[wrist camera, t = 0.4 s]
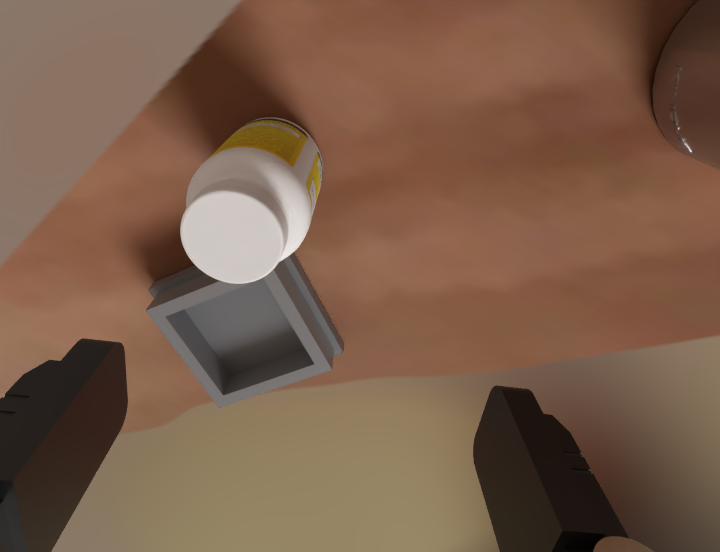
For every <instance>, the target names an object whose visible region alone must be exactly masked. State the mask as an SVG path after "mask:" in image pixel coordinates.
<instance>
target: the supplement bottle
mask: <svg viewBox="0 0 720 552" xmlns="http://www.w3.org/2000/svg"><path fill="white" fill-rule="evenodd" d="M322 177H323V163H322V158H321V154H320V151H319V149H318V147H317V145H316V143H315V142H314V140H313V139H312V138H311V136H310V135H309V134H308V133H307V132H306V131H305V130H304V129H302V128H301V127H300V126H298V125H296V124H295V123H293V122H290V121H288V120H285V119H281V118H275V117H266V118H259V119H256V120H253V121H251V122H249V123H247V124H245V125H243V126H242V127H241V128H239V129H238V130H237V131H236V132H235V133H234V134H233V135H232V136H230V137H229V138H228V139H227V140H226V141H225V142H224V143H223V144H222V145H221V146H220V147H219V148H218V149H217V150H216V151H215V152H214V153H213V154H212V155H211V156H210V157H209V158H208V159H207V160H206V161H205V162H204V163H203V164H202V165H201V166H200V167H199V168H198V170H197V171H196V172H195V174H194V176H193V177H192V179H191V182H190V184H189V187H188V191H187V197H186V210H185V212H184V214H183V217H182V220H181V225H180V236H181V241H182V244H183V247H184V249H185V251H186V253H187V255H188V257H189V258H190V260H191V261H192V262H193V263H194V264H195V265H196V266H197V267H198V268H199V269H200V270H201V271H203V272H204V273H205V274H207V275H209V276H211V277H213V278H215V279H217V280H220V281H223V282H227V283H234V284H243V283H249V282H253V281H256V280H259V279H261V278H263V277H265V276H266V275H267V274H269V273H270V272H271V271H272V270H273V269H274V268H275V267H276V266H277V264H278V262H280V261H282V260H283V259H285V258H287V257H288V256H289V255H291V254H292V253H293V252H294V251H295V250H296V249H297V248H298V247H299V246H300V244H301V243H302V241H303V239H304V238H305V236H306V233H307V231H308V229H309V226H310V222H311V218H312V215H313V211H314V208H315V204H316V200H317V197H318V193H319V190H320V186H321V183H322Z"/></svg>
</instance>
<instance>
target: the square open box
mask: <svg viewBox="0 0 720 552" xmlns="http://www.w3.org/2000/svg"><path fill="white" fill-rule="evenodd" d="M148 290H149V291H150V293H151V294H152V296H153V297H154V298H155V299H154V300H153V301H152V303H151V304H150V305H149V307H148V308H147V309H146V312H147V313H148V315H149V316H150V317H151V319H152V320H153V321H154V322H155V324H156V325H157V326H158V328H159V329H160V330H161V332H162V333H163V334H164V336H165V337H166V338H167V340H168V341H169V342H170V344H171V345H172V346H173V348H174V349H175V350H176V352H177V353H178V354H179V356H180V357H181V358H182V360H183V361H184V362H185V364H186V365H187V366H188V368H189V369H190V370H191V372H192V373H193V374H194V375H195V377H196V378H197V379H198V381H199V382H200V383H201V385H202V386H203V387H204V389H205V390H206V391H207V393H208V394H209V395H210V397H211V398H212V399H213V401H214V402H215V403H216V405H217V406H218V407H219V408H221V407H223V406H226V405H229V404H232V403H235V402H238V401H241V400H244V399H247V398H250V397H253V396H256V395H259V394H262V393H265V392H268V391H271V390H274V389H277V388H280V387H283V386H286V385H289V384H292V383H294V382H297V381H300V380H303V379H306V378H309V377H312V376H315V375H318V374H321V373H324V372H327V371H330V370H332V366H333V357H334V356H336V355H339V354H342V353H343V351H344V343H343V341H342V339H341V337H340V336H339V334H338V332H337V330H336V328H335V326H334V325H333V323H332V321H331V319H330V317H329V316H328V314H327V312H326V310H325V308H324V307H323V305H322V303H321V301H320V299H319V298H318V296H317V294H316V292H315V290H314V288H313V287H312V285H311V283H310V281H309V279H308V278H307V276H306V274H305V272H304V270H303V269H302V267H301V265H300V263H299V261H298V260H297V258H296V256H295V254H294V252H293V253H292V254H291V255H289V256H288V257H287V258H285V259H283V260H282V261H280V262H278V264H277V266H276V267H275V268H274V269H273V270H272V271H271V272H270V273H269V274H267V275H266V276H265V277H263V278H261V279H259V280H256V281H253V282H249V283H243V284H234V283H227V282H223V281H220V280H217V279H215V278H213V277H211V276H209V275H207V274H205V273H204V272H203V271H201V270H200V269H199V268H198V267H197V266H196V265H194V266H192V267H189V268H187V269H184V270H182V271H179V272H177V273H175V274H172V275H170V276H167V277H165V278H162V279H160V280H158V281H155V282H154V283H153V284H152V286H151V287H150V288H149V289H148Z"/></svg>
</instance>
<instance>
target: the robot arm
mask: <svg viewBox="0 0 720 552" xmlns="http://www.w3.org/2000/svg"><path fill="white" fill-rule="evenodd" d="M652 91H653V110H654V113H655V117H656V120H657V124H658V126H659V128H660V129H661V131H662V133H663V135H664V136H665V138H666V139H667V140H668V141H669V142H670V143H671V144H672V145H673V146H674V147H675V148H676V149H677V150H679V151H681V152H683V153H685V154H687V155H689V156H691V157H693V158H695V159H697V160H699V161H701V162H703V163H705V164H708V165H710V166H712V167H714V168H716V169H718V170H720V0H699V1H697V2H696V3H695V4H694V5H693V6H692V7H691V8H690V10H689V11H688V12H687V13H686V15H685V16H684V17H683V18H682V20H681V21H680V22H679V23H678V24H677V26H676V27H675V29H674V31H673V32H672V34H671V36H670V38H669V39H668V41H667V43H666V45H665V46H664V49H663V51H662V54H661V57H660V59H659V62H658V65H657V67H656V72H655V77H654V83H653V89H652ZM127 405H128V395H127V380H126V365H125V351H124V347H123V345H122V343H120V342H111V341H102V340H93V339H81V340H79V341H78V342H77V343H76V344H75V345H74V346H73V347H72V349H71V350H70V351H69V352H68V353H67V354H66V355H65V357H64V358H63V359H62V360H61V361H55V360H48V361H46V362H45V363H43V364H41V365H39V366H38V367H36V368H34V369H32V370H31V371H29V372H27V373H25V374H24V375H23V376H22V377H21V378H20V379H19V380H18V381H17V382H16V383H15V384H14V385H13V386H12V387H11V388H10V389H9V390H8V391H7V392H6V393H5V397H4V398H1V399H0V552H51V551H52V549H53V547H54V546H55V544H56V542H57V540H58V539H59V537H60V535H61V533H62V531H63V530H64V528H65V526H66V525H67V523H68V521H69V519H70V518H71V516H72V514H73V512H74V511H75V509H76V507H77V505H78V504H79V502H80V500H81V498H82V497H83V495H84V493H85V491H86V490H87V488H88V486H89V484H90V483H91V481H92V479H93V477H94V476H95V474H96V472H97V470H98V469H99V467H100V465H101V463H102V462H103V460H104V458H105V456H106V454H107V453H108V451H109V449H110V448H111V446H112V444H113V442H114V441H115V439H116V437H117V435H118V434H119V432H120V430H121V428H122V426H123V423H124V420H125V416H126V412H127ZM581 454H582V453H581V451H580V449H579V447H578V446H577V444H576V442H575V440H574V438H573V437H572V435H571V433H570V432H569V431H568V430H567V429H566V428H565V427H564V426H563V425H562V424H561V423H560V422H559V421H558V420H557V419H555V418H554V417H553V416H552V415H548V414H543V412H542V410H541V408H540V406H539V404H538V403H537V400H536V399H535V397H534V395H533V393H532V392H531V391H530V390H529V389H522V388H513V387H504V386H494V387H493V388H492V390H491V392H490V394H489V397H488V400H487V403H486V406H485V409H484V412H483V415H482V418H481V421H480V423H479V426H478V429H477V432H476V435H475V439H474V446H473V457H474V464H475V468H476V472H477V475H478V478H479V482H480V485H481V489H482V492H483V495H484V498H485V502H486V506H487V509H488V512H489V516H490V519H491V523H492V526H493V529H494V533H495V536H496V540H497V543H498V546H499V550H500V552H653V551H652V550H650V549H649V548H647V547H646V546H644V545H642V544H640V543H638V542H636V541H633V540H631V539H629V537H628V535H627V533H626V532H625V530H624V528H623V526H622V525H621V523H620V521H619V519H618V517H617V516H616V514H615V512H614V510H613V509H612V507H611V505H610V503H609V501H608V499H607V498H606V496H605V494H604V492H603V490H602V489H601V487H600V485H599V483H598V482H597V480H596V478H595V476H594V474H591V469H590V467H589V465H588V464H587V462H586V460H585V458H584V457H582V456H581Z"/></svg>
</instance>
